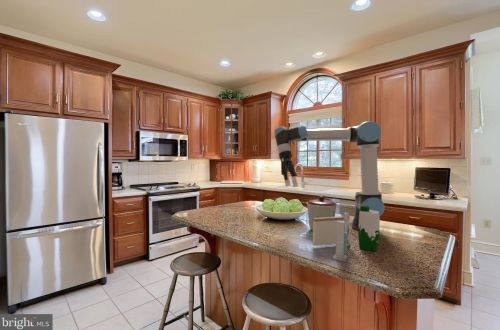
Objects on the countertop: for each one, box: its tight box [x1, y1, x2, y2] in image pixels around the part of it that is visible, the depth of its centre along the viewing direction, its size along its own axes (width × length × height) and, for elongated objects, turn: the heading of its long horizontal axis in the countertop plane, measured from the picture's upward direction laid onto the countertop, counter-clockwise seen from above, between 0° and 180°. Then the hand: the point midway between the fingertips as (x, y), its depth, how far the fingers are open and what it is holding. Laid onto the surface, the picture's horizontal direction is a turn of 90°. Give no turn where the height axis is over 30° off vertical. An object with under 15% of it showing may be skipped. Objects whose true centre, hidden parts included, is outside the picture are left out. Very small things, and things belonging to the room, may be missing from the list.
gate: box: [312, 216, 344, 247], centre depth 123 cm, size 16×2×13 cm, turn 107°
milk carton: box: [358, 206, 381, 252], centre depth 122 cm, size 9×9×20 cm
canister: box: [305, 195, 338, 232], centre depth 151 cm, size 18×18×21 cm
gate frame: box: [332, 212, 351, 263], centre depth 117 cm, size 25×5×16 cm, turn 152°
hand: (292, 186), depth 148 cm, fingers open, 13 cm apart
